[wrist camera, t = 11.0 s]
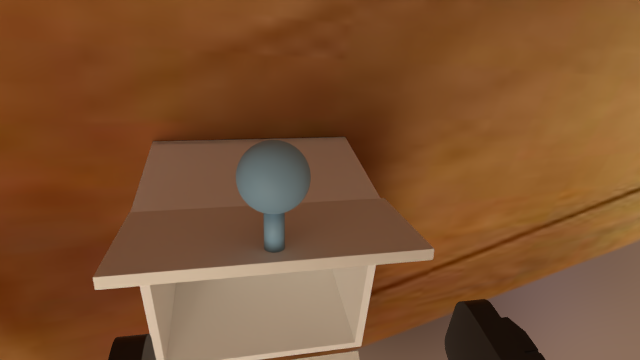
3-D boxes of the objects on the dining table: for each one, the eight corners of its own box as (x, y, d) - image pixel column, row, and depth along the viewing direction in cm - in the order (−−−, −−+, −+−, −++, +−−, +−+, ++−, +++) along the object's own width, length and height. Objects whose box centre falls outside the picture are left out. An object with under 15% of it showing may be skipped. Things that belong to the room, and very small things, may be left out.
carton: (345, 136, 37) (386, 208, 27) (331, 257, 44) (361, 346, 35) (152, 141, 33) (126, 224, 24) (172, 270, 41) (158, 372, 31)
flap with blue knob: (383, 206, 27) (390, 116, 25) (435, 262, 20) (450, 145, 18) (130, 221, 24) (117, 120, 22) (93, 293, 17) (69, 156, 15)
